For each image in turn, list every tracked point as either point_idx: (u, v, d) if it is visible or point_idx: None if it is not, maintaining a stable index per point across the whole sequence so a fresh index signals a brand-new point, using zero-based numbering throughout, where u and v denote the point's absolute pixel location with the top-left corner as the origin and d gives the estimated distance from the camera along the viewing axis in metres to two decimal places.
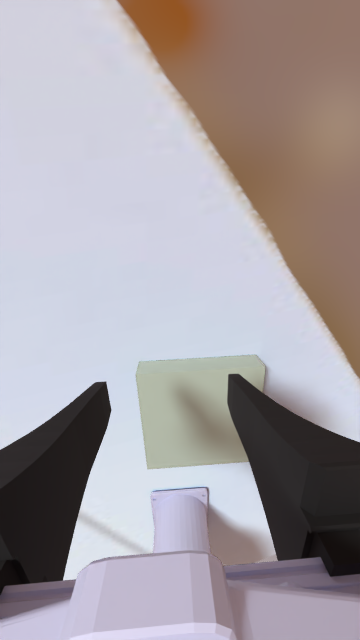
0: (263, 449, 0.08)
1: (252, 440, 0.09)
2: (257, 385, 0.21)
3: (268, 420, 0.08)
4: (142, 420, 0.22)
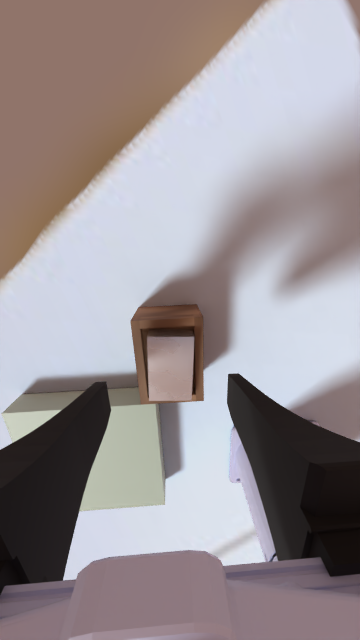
0: (263, 449, 0.08)
1: (252, 441, 0.09)
2: (30, 417, 0.18)
3: (268, 420, 0.08)
4: (94, 509, 0.22)
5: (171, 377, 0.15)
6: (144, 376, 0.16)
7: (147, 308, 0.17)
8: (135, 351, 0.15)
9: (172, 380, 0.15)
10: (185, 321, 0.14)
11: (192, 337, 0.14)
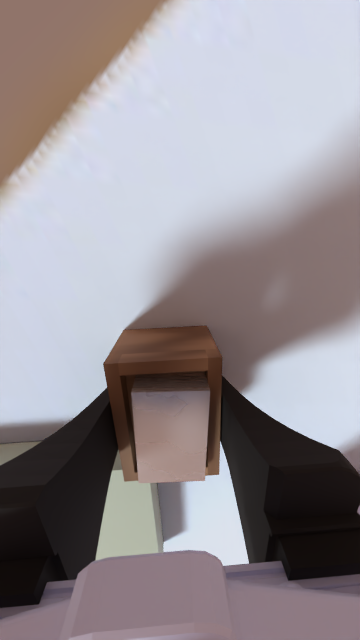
0: (237, 451, 0.08)
1: (229, 442, 0.09)
2: None
3: (241, 422, 0.08)
4: None
5: (173, 450, 0.09)
6: (128, 443, 0.10)
7: (135, 334, 0.12)
8: (113, 409, 0.09)
9: (175, 454, 0.09)
10: (193, 363, 0.09)
11: (207, 391, 0.08)
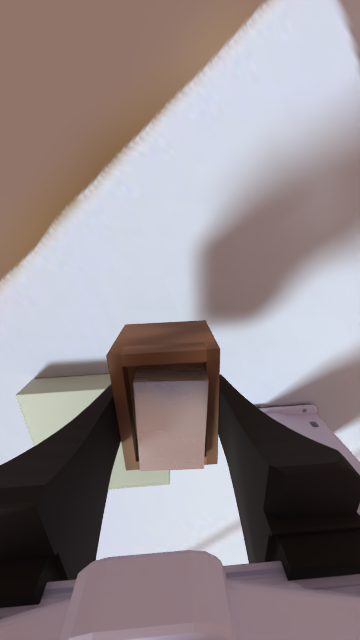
0: (237, 451, 0.08)
1: (229, 442, 0.09)
2: (42, 399, 0.19)
3: (240, 422, 0.08)
4: None
5: (173, 438, 0.10)
6: (130, 433, 0.10)
7: (136, 328, 0.12)
8: (115, 399, 0.10)
9: (175, 442, 0.10)
10: (192, 355, 0.09)
11: (205, 381, 0.09)
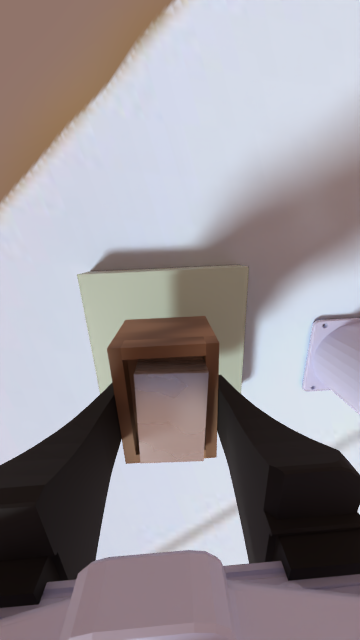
0: (237, 451, 0.08)
1: (229, 442, 0.09)
2: (108, 281, 0.16)
3: (241, 422, 0.08)
4: None
5: (173, 431, 0.10)
6: (130, 426, 0.11)
7: (136, 323, 0.12)
8: (115, 392, 0.10)
9: (175, 435, 0.10)
10: (192, 349, 0.09)
11: (205, 373, 0.09)
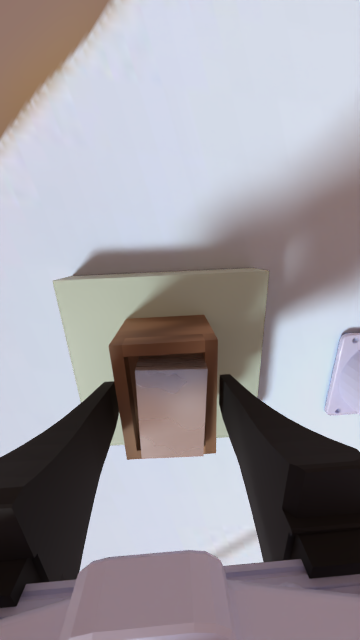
0: (250, 450, 0.08)
1: (240, 441, 0.09)
2: (92, 289, 0.12)
3: (254, 421, 0.08)
4: None
5: (173, 426, 0.10)
6: (131, 422, 0.11)
7: (137, 322, 0.12)
8: (117, 389, 0.10)
9: (176, 430, 0.10)
10: (191, 346, 0.10)
11: (204, 369, 0.09)
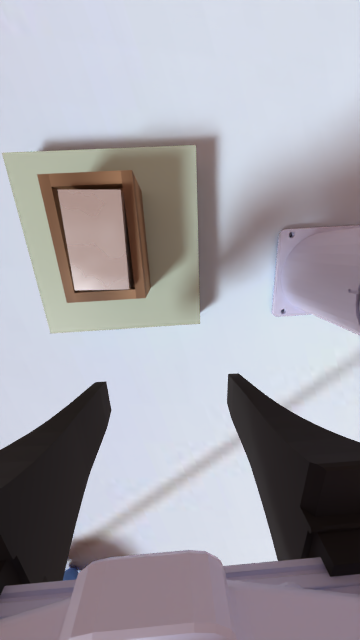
0: (263, 449, 0.08)
1: (252, 440, 0.09)
2: (38, 162, 0.14)
3: (268, 420, 0.08)
4: (116, 327, 0.18)
5: (98, 254, 0.12)
6: (66, 261, 0.12)
7: None
8: (49, 222, 0.12)
9: (101, 258, 0.12)
10: (109, 176, 0.11)
11: (118, 190, 0.11)
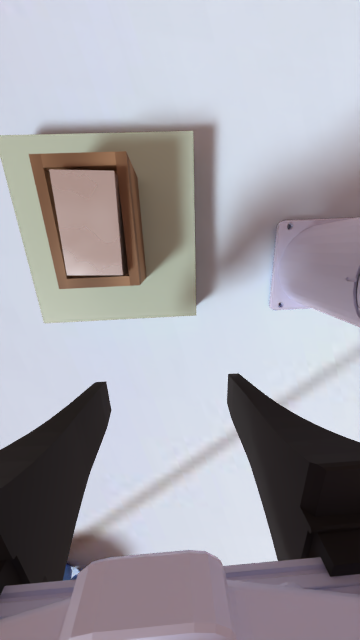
0: (263, 449, 0.08)
1: (252, 440, 0.09)
2: (31, 146, 0.14)
3: (268, 420, 0.08)
4: (110, 318, 0.18)
5: (91, 237, 0.11)
6: (58, 245, 0.12)
7: None
8: (41, 204, 0.11)
9: (94, 242, 0.11)
10: (103, 157, 0.11)
11: (111, 171, 0.10)
